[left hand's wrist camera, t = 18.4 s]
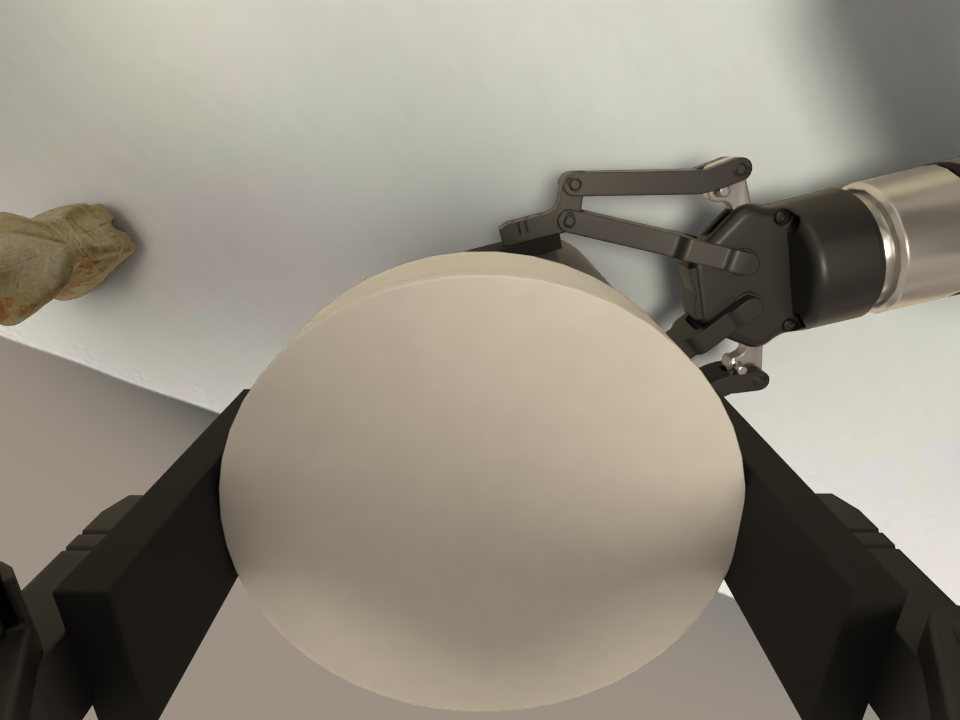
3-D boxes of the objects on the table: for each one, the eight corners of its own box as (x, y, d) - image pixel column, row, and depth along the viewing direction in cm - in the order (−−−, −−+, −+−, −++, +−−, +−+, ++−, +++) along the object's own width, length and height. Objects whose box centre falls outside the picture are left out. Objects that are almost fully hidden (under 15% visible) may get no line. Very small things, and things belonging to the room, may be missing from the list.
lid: (556, 142, 10) (573, 143, 8) (777, 521, 13) (827, 585, 11) (162, 419, 12) (103, 471, 10) (432, 691, 15) (425, 769, 13)
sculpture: (25, 233, 38) (-247, 283, 24) (106, 181, 37) (-130, 201, 23) (84, 306, 40) (-136, 393, 26) (163, 259, 38) (-23, 323, 24)
